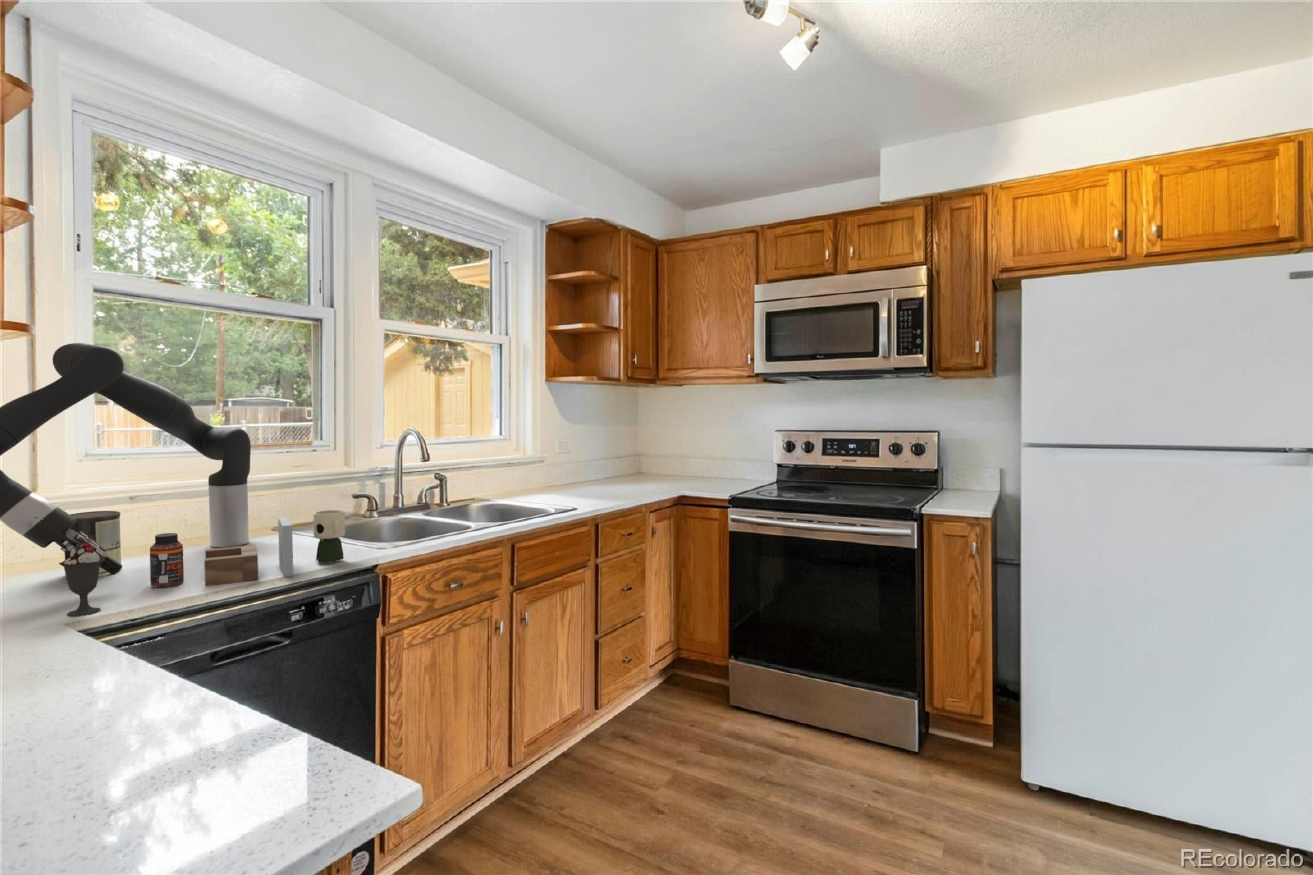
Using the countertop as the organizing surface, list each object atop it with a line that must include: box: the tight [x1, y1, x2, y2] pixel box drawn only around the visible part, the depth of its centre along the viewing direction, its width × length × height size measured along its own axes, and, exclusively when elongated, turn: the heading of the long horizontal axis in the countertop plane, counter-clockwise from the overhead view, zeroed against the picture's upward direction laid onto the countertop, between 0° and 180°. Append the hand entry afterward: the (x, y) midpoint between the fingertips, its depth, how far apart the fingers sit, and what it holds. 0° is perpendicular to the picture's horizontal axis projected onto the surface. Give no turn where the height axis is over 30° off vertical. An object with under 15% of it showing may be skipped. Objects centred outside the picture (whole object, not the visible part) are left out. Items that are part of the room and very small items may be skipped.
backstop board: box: [277, 516, 294, 578], centre depth 157 cm, size 13×2×12 cm, turn 34°
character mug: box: [312, 509, 346, 564], centre depth 165 cm, size 11×7×13 cm, turn 46°
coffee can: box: [64, 510, 123, 578], centre depth 153 cm, size 10×10×14 cm
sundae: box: [58, 535, 105, 617], centre depth 125 cm, size 7×7×15 cm
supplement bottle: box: [149, 532, 185, 588], centre depth 144 cm, size 6×6×11 cm
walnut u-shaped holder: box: [203, 544, 259, 586], centre depth 151 cm, size 13×10×6 cm
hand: (118, 570), depth 139 cm, fingers closed
